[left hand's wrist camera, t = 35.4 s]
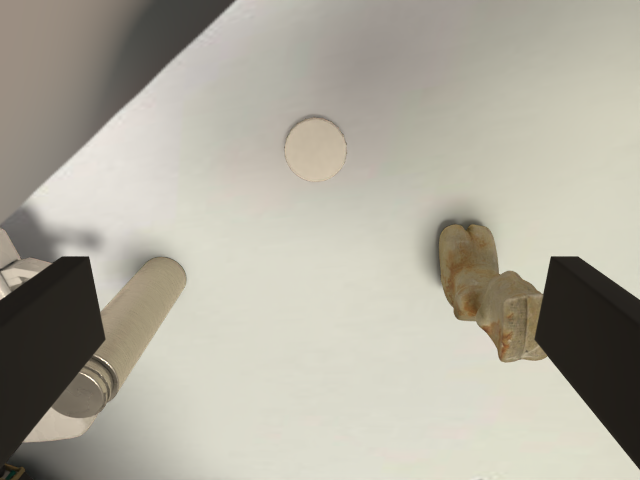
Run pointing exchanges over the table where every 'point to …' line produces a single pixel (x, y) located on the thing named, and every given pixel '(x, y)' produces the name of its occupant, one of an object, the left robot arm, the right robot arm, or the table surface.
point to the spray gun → (13, 473)
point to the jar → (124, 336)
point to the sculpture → (489, 292)
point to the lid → (315, 149)
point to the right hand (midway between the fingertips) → (97, 320)
